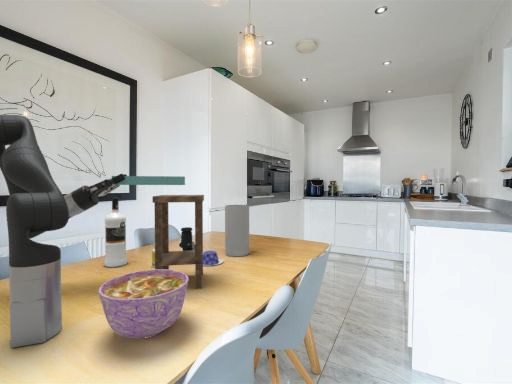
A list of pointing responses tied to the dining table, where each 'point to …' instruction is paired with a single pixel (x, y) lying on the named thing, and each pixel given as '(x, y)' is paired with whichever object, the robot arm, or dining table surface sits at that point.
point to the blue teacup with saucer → (211, 258)
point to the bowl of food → (143, 301)
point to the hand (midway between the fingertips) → (125, 176)
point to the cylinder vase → (236, 230)
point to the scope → (187, 239)
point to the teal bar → (152, 180)
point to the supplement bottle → (153, 257)
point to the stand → (162, 236)
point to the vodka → (115, 237)
